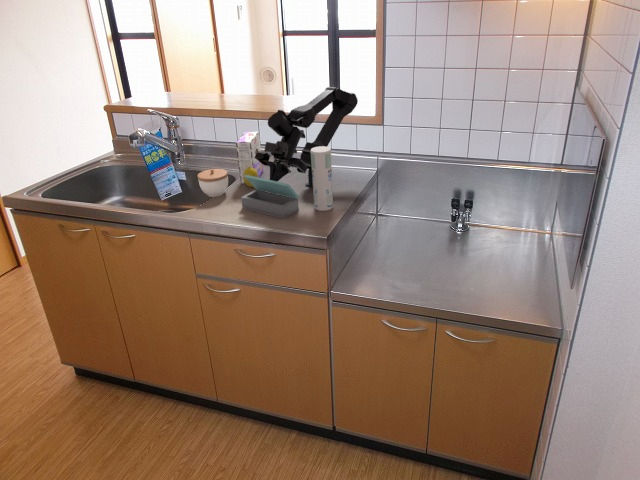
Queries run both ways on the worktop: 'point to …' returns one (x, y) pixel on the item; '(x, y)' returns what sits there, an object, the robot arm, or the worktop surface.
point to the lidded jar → (213, 182)
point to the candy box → (248, 153)
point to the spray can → (322, 178)
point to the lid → (272, 186)
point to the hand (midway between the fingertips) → (271, 184)
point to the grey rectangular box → (270, 203)
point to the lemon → (249, 172)
